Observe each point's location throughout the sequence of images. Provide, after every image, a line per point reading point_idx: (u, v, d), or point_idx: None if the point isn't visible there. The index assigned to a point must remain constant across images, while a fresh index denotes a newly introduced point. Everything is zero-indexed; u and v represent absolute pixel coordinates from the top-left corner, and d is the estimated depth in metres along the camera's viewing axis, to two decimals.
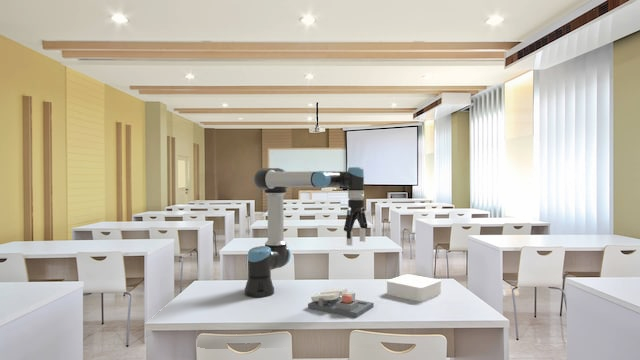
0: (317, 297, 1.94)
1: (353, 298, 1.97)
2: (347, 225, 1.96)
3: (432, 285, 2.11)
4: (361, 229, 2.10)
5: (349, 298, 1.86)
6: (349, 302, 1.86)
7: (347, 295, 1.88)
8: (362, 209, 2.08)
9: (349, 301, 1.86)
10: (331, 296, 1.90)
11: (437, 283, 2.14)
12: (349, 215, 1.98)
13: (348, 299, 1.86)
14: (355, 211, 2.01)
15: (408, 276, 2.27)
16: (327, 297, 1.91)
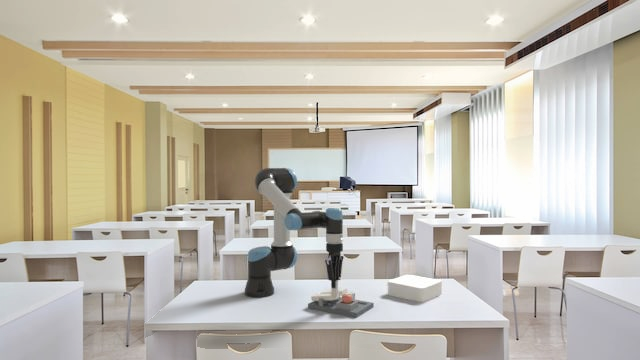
0: (317, 297, 1.94)
1: (353, 298, 1.97)
2: (330, 276, 1.88)
3: (433, 285, 2.10)
4: None
5: (349, 298, 1.86)
6: (349, 302, 1.86)
7: (347, 295, 1.88)
8: (341, 256, 1.96)
9: (349, 301, 1.86)
10: (331, 296, 1.90)
11: (438, 283, 2.14)
12: (329, 265, 1.87)
13: (348, 299, 1.86)
14: (333, 256, 1.89)
15: (409, 276, 2.26)
16: (327, 297, 1.91)
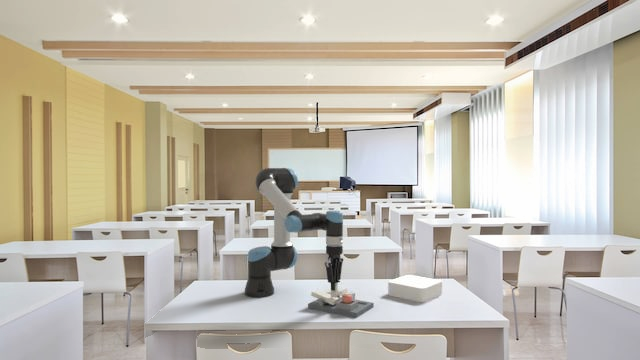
0: (317, 295, 1.94)
1: (353, 298, 1.97)
2: (330, 278, 1.88)
3: (434, 286, 2.09)
4: None
5: (349, 298, 1.86)
6: (349, 302, 1.86)
7: (347, 295, 1.88)
8: (341, 258, 1.96)
9: (349, 301, 1.86)
10: (331, 301, 1.90)
11: (438, 284, 2.13)
12: (328, 268, 1.87)
13: (348, 299, 1.86)
14: (333, 258, 1.89)
15: (409, 277, 2.25)
16: (327, 300, 1.91)
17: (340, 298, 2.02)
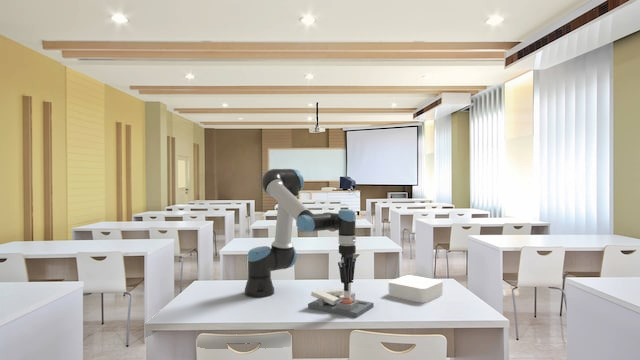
0: (317, 295, 1.94)
1: (353, 298, 1.97)
2: (343, 278, 1.85)
3: (434, 286, 2.09)
4: None
5: (349, 301, 1.86)
6: None
7: (347, 298, 1.88)
8: (354, 258, 1.92)
9: None
10: (331, 301, 1.90)
11: (439, 284, 2.13)
12: (341, 268, 1.84)
13: (348, 302, 1.86)
14: (346, 258, 1.85)
15: (409, 277, 2.25)
16: (327, 300, 1.91)
17: (340, 298, 2.02)
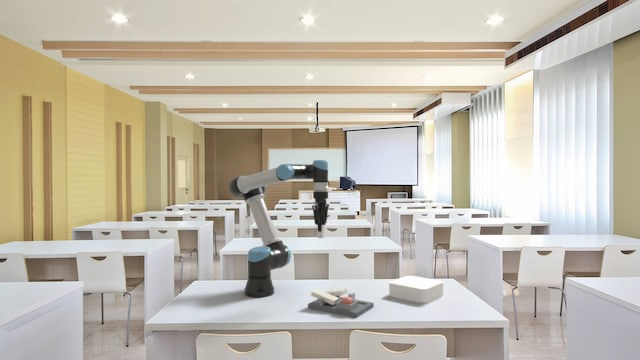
0: (317, 295, 1.94)
1: (353, 298, 1.97)
2: (316, 220, 2.09)
3: (435, 286, 2.08)
4: None
5: (349, 301, 1.86)
6: None
7: (347, 298, 1.88)
8: (327, 204, 2.17)
9: None
10: (331, 301, 1.90)
11: (440, 284, 2.12)
12: (315, 210, 2.08)
13: (348, 302, 1.86)
14: (319, 202, 2.10)
15: (410, 277, 2.24)
16: (327, 300, 1.91)
17: (340, 298, 2.02)
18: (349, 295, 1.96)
